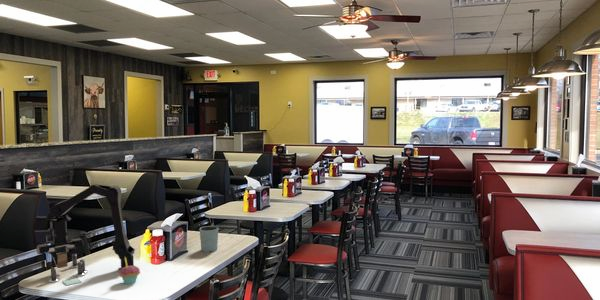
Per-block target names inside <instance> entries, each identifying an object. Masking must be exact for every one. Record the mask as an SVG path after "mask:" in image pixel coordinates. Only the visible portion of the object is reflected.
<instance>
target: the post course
mask: <svg viewBox="0 0 600 300" xmlns="http://www.w3.org/2000/svg"><path fill="white" fill-rule="evenodd" d="M71 256H72V257H71V260H72V263H71V264H72V265H71V264H70V266H69V267H70V269H77V273H75V277H76V278H77V277H78V278H80V277H85V276H86V274H88V270H86V264H85V263H86V262H85V259H84V258H82V259H80V260H79V261H78V260H77V258H78V257H77V253H73V254H71ZM59 281H60V279H59V278H57V267H56V266H53V267H51V268H50V279H49V280H48V283H50V284H53V283H57V282H59Z"/></svg>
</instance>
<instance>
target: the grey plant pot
mask: <svg viewBox="0 0 600 300" xmlns="http://www.w3.org/2000/svg"><path fill="white" fill-rule="evenodd" d="M199 238H200V239H199V240H200V249H201V250H202V251H201V250H200V251H201V252H203V251H204V253H211V252H210V251H213V252H216V251H217V250H218V242H219V241H218V239H219V226H216V225H206V226H201V227H200V228H199ZM215 250H216V251H215Z"/></svg>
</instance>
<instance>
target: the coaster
mask: <svg viewBox="0 0 600 300" xmlns="http://www.w3.org/2000/svg"><path fill="white" fill-rule="evenodd" d="M62 283H63V284H64V285H65V286H72V285H76V284H79V283H82V281H81V279H79V277H78V278H77V277H76V278H71V279H66V280H63V281H62Z"/></svg>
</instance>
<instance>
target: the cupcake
mask: <svg viewBox="0 0 600 300" xmlns="http://www.w3.org/2000/svg"><path fill="white" fill-rule="evenodd" d="M125 263H126V266H125V267H124V268H122V269H121V270H119V274H118V276H119V277H121V278H122V281H123V283H124V284H125V285H132V283H133V284H135V283H136V282H137V279H138V276H139V275H140V273H141V270H140V268H139V266H136V265H132V266H128V265H127V260H126V258H125Z"/></svg>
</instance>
